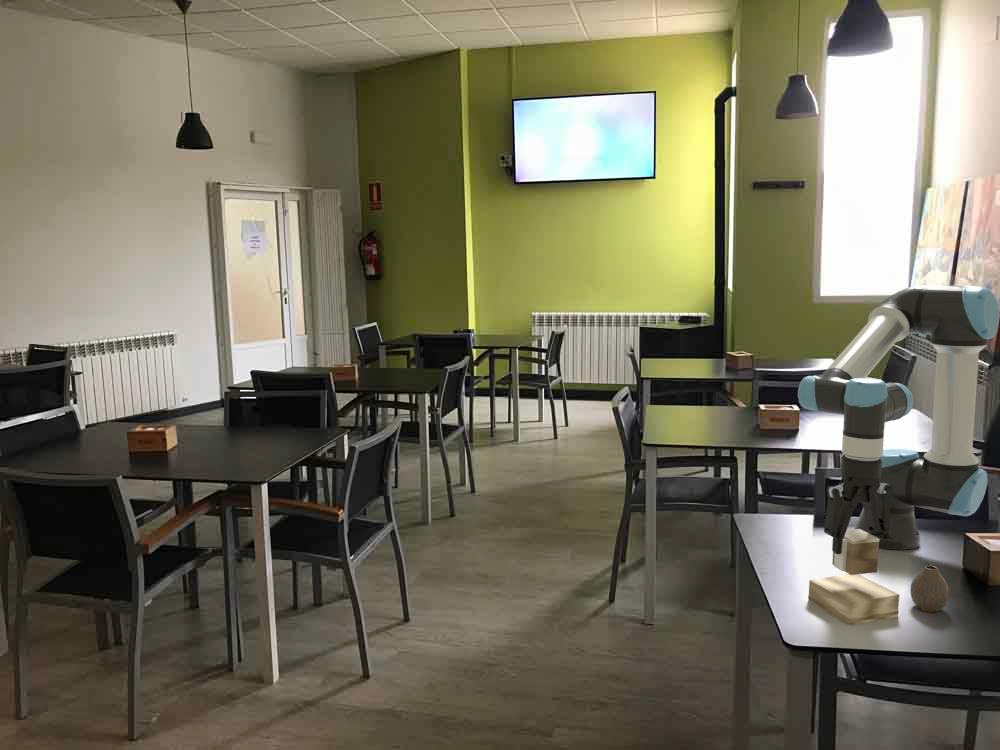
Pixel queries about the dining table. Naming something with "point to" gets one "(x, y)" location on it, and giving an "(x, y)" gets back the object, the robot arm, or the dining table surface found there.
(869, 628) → the dining table surface
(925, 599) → the vase
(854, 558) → the pale wooden block
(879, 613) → the beech base
